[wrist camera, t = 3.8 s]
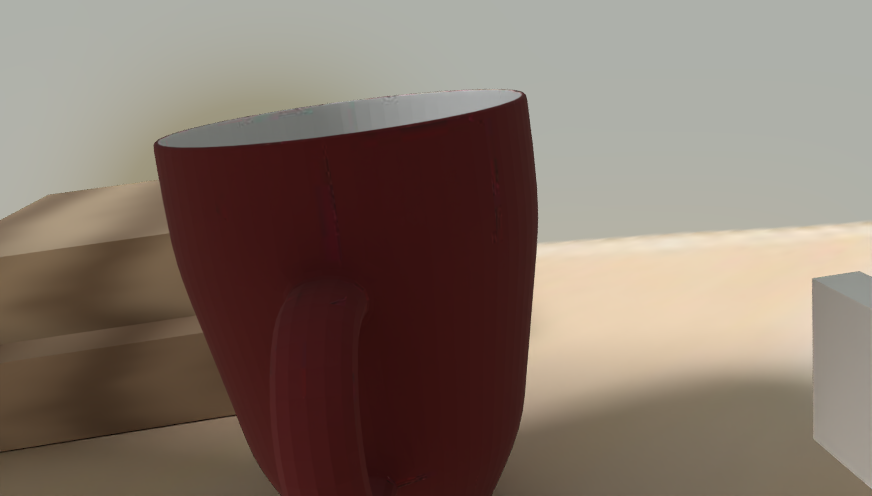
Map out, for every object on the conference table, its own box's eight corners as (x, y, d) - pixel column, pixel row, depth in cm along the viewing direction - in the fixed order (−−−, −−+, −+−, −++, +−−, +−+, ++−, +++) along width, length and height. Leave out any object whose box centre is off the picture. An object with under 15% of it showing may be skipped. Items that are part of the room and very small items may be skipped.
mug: (641, 694, 15) (600, 121, 12) (177, 763, 14) (36, 193, 12) (534, 422, 25) (500, 81, 22) (263, 459, 24) (197, 119, 22)
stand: (-139, 473, 27) (-198, 297, 25) (49, 303, 44) (21, 193, 43) (413, 386, 28) (389, 213, 27) (386, 254, 46) (370, 145, 44)
